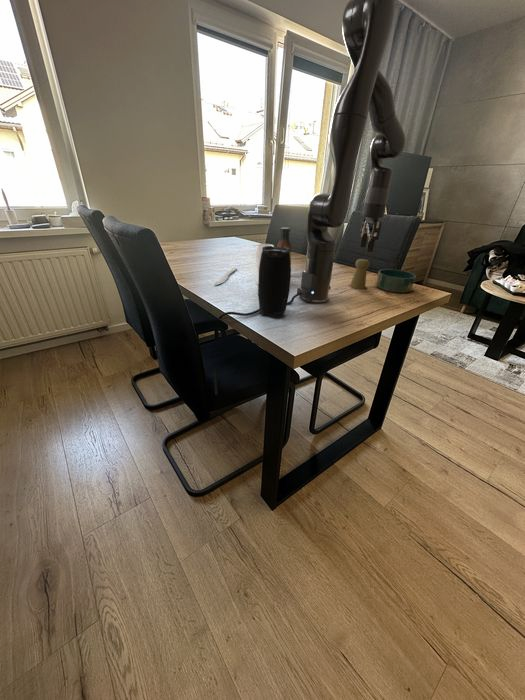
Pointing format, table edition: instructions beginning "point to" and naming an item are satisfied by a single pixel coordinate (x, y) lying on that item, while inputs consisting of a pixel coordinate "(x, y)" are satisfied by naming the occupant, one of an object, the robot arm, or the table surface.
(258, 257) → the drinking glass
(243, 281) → the table surface
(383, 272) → the teal shallow bowl
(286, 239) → the sauce bottle
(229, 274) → the butter knife
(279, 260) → the portable speaker
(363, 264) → the cork
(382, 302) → the table surface
